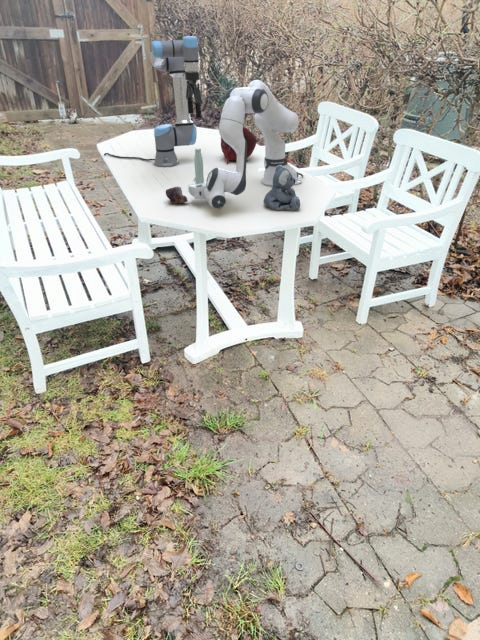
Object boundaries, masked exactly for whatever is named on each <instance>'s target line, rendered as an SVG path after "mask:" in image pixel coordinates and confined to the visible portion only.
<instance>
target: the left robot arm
mask: <svg viewBox="0 0 480 640" xmlns="http://www.w3.org/2000/svg"><path fill="white" fill-rule="evenodd" d="M199 60H200V59H199V43H198V37H197V36H194V35H193V36H192V35H189V36H188V35H187V36H183V37H182V39H178V40H177V39H176V40H175V39H173V40H152V42H151V51H150V52H149V54H148V62H149V65H150V66H151V67H152V68H153V69H155V70H156V71H159V72H168V73H169V76H170V77H171V79H172V85H173V87H172V88H173V95H174V96H173V97H174V105H175V112H176V113H175V114H176V121H175V122H174V126H173V125H172V124H171V123H165V124H161V125H158V126H157V125H156V127H155V128H154V129H153V136H154V142H155V143H154V145H155V155H154V158H143V157H138V156H120V155H115V154H110V153H109V152H105V153H104V154H103V156H106V155H108V156H109V157H113V158H118V159H135V160H142V161H148V162H149V161H154V165H155V166H157V167H163V168H164V167H165V168H167V167H168V168H169V167H174V166H177V165H178V164H179V159H178V157H177V153H176V151H175V147H184V146H186V147H187V146H189V147H190V146H193V145H195V144H196V141H197V131H198V130H197V126H196V125H195V124H194V121H192V120H191V114H194V109H195V118H196V119H201V118H202V105H201V104H203V101H202V94H201V89H200V83H199V82H197V81H199V80H200V79H201V78H200V77H201V76H200V72H199V71H200V61H199ZM193 100H194V101H195V102H194V101H193ZM194 106H195V107H194Z"/></svg>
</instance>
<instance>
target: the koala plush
mask: <svg viewBox="0 0 480 640" xmlns="http://www.w3.org/2000/svg"><path fill="white" fill-rule="evenodd" d="M293 184H294V185H296V184H295V179H294V178H293V176H292V174H291V173H290V172H289V170H288V169H286V168H284V167H283V166H282V165H278V166H276V169H275V174H274V177H273V186H271V189H270V190H269V191H268V192H267V193H266V194H265V195H264V198H263V205H264V206H265V207H267V208H270V209H272V210H274V211H275V210H276V211H298V210H300V209H301V200H300V198H299V196H297V193H296V191H295V188H294V187H293V186H294V185H293Z"/></svg>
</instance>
